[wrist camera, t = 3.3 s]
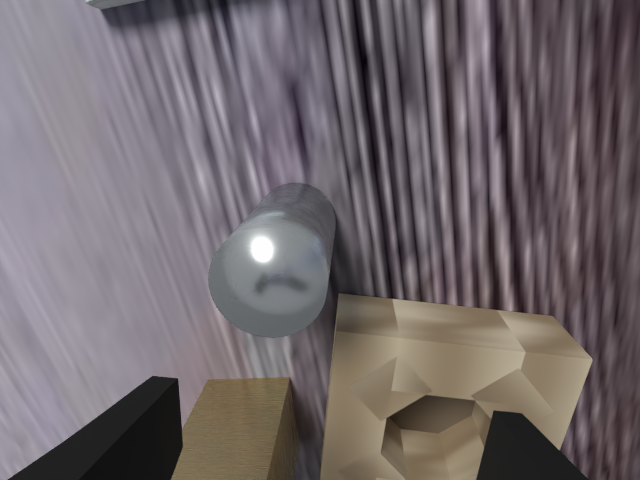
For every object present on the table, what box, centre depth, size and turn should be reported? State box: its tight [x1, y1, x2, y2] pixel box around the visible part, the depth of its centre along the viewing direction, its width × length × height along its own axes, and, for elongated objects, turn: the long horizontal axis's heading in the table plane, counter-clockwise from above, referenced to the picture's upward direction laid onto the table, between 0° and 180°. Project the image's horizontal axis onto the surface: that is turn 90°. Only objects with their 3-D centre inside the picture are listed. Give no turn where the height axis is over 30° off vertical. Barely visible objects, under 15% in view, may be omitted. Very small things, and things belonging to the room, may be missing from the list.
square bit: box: [171, 377, 299, 480], centre depth 17 cm, size 4×4×6 cm
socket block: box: [319, 293, 593, 480], centre depth 17 cm, size 9×9×3 cm
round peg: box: [208, 183, 336, 338], centre depth 14 cm, size 3×3×6 cm
